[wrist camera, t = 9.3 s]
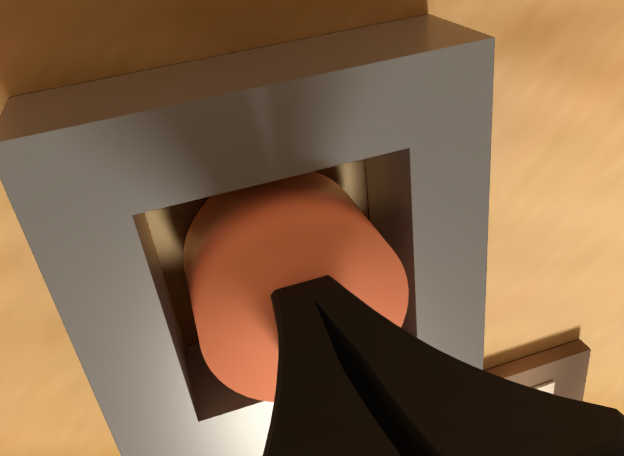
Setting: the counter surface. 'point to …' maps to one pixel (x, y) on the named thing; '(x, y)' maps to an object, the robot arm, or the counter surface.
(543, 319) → the counter surface
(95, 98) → the button housing
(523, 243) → the counter surface
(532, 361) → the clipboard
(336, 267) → the button
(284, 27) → the counter surface
